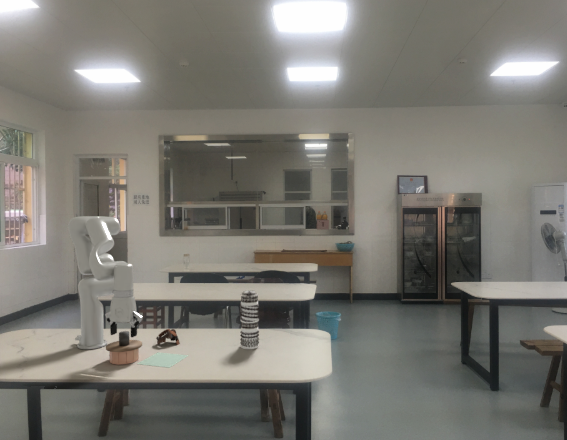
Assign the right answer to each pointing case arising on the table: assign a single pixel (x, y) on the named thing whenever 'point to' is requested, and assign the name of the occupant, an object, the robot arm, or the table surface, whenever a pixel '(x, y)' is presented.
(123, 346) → the lid
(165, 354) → the mat
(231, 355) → the table surface
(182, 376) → the table surface
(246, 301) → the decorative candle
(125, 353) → the bowl
